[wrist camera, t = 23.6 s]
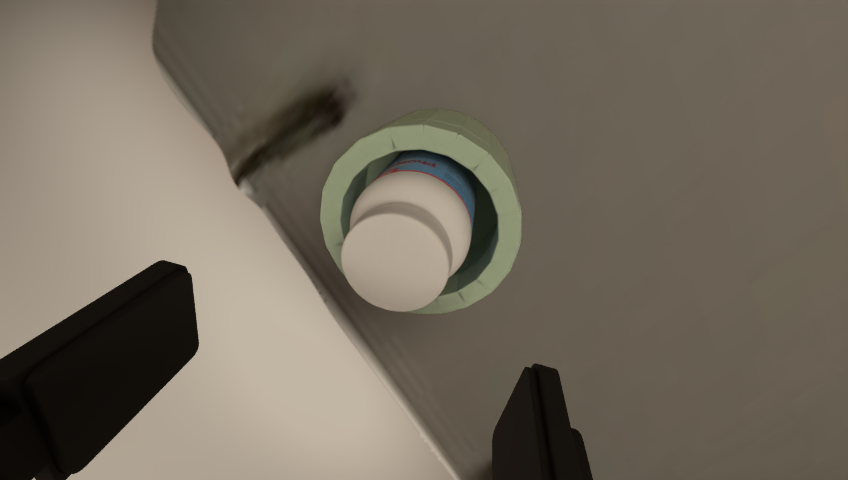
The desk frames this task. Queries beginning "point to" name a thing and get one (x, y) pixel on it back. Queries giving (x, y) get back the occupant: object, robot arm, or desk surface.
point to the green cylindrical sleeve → (494, 202)
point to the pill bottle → (410, 230)
